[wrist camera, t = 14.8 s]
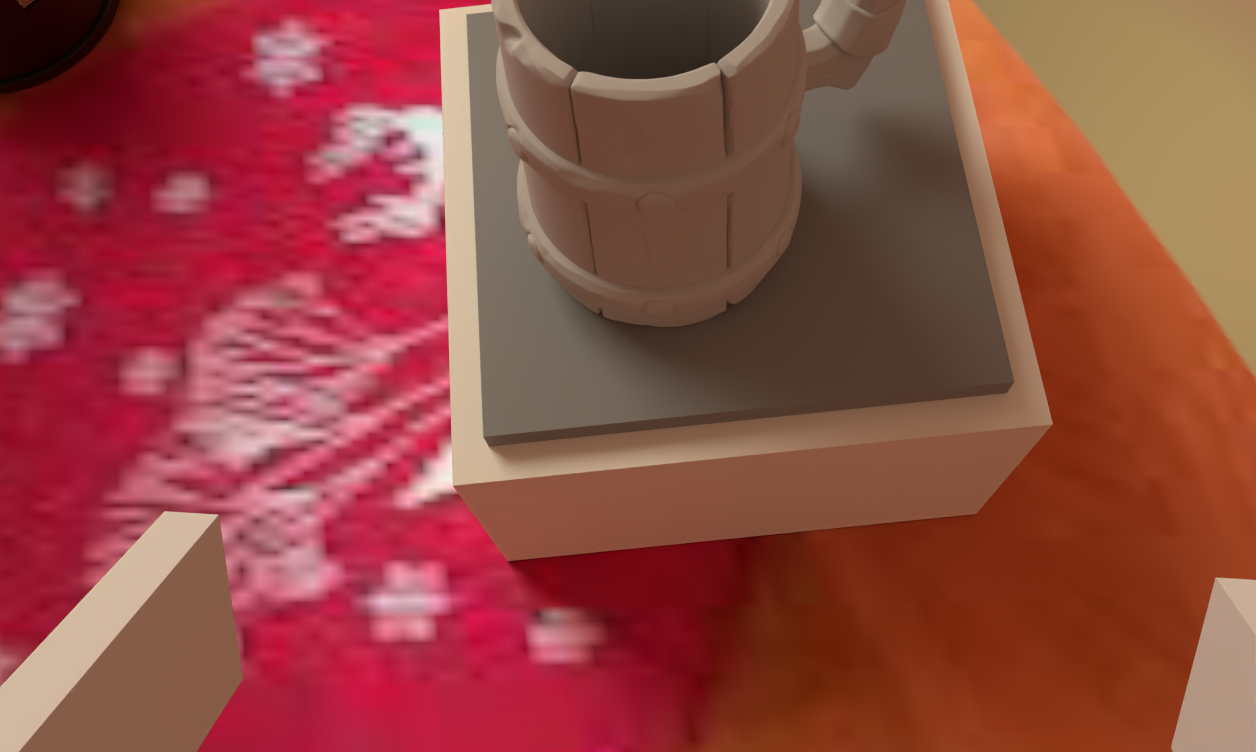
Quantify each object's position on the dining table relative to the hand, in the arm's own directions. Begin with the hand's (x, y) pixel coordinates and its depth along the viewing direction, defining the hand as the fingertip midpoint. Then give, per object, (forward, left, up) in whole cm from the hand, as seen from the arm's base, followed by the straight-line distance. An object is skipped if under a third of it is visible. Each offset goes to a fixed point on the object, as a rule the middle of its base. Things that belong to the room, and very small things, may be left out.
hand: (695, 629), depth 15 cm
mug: (+2, +15, -13) cm, 20 cm away
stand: (+2, +15, -22) cm, 27 cm away
